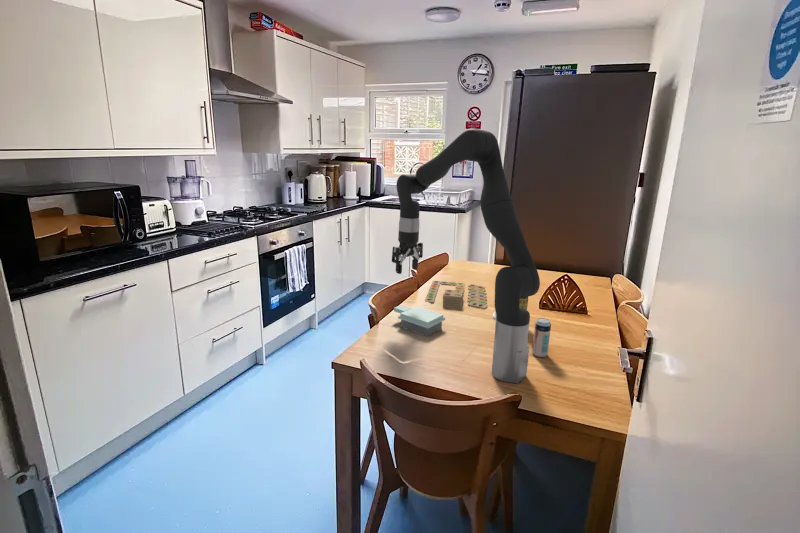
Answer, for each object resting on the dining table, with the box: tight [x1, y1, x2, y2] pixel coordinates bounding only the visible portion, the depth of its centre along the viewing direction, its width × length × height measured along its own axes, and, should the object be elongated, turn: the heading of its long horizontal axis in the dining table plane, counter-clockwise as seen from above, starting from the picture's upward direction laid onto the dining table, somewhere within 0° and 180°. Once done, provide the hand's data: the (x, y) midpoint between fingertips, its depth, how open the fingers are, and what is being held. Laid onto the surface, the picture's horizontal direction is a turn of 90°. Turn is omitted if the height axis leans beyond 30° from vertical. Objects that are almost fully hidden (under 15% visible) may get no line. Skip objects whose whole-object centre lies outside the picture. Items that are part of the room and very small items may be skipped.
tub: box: [400, 319, 443, 337], centre depth 153 cm, size 12×9×5 cm
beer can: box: [531, 317, 552, 358], centre depth 134 cm, size 5×5×12 cm
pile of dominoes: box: [424, 280, 489, 310], centre depth 192 cm, size 35×27×6 cm
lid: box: [393, 304, 446, 328], centre depth 154 cm, size 18×11×2 cm, turn 50°
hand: (406, 271), depth 157 cm, fingers open, 8 cm apart
